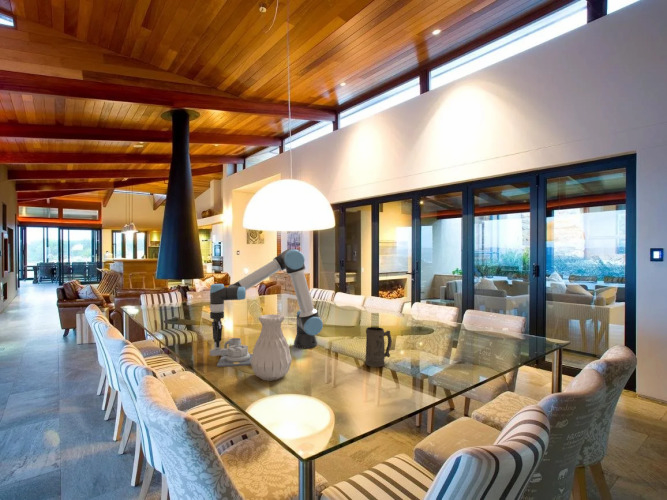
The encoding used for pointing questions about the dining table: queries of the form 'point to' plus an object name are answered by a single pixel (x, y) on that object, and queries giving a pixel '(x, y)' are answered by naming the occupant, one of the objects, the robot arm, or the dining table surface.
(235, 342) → the cup
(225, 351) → the grey lumpy block
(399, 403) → the dining table surface
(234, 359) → the housing
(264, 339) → the vase
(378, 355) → the beer stein
